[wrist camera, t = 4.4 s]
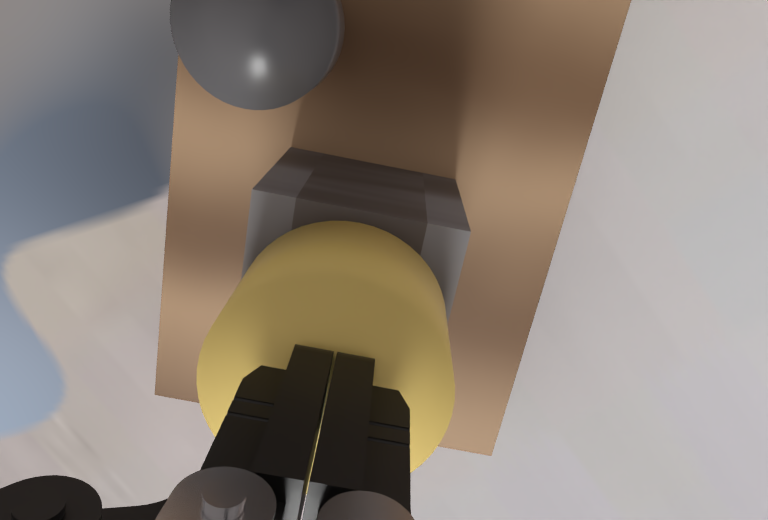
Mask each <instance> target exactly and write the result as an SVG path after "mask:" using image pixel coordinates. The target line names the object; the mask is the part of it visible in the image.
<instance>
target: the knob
mask: <svg viewBox="0 0 768 520" xmlns="http://www.w3.org/2000/svg"><path fill="white" fill-rule="evenodd" d="M295 344H298V345H304V346H309V347H314V348H320V349H325V350H331V351H334V353H333V359H332V364H331V370H330V375H329V380H328V386H327V391H326V397H325V402H324V408H323V413H322V419H321V424H322V420H323V415H324V410H325V406H326V401H327V396H328V392H329V387H330V382H331V378H332V373H333V368H334V364H335V359H336V354H337V352H342V353H347V354H353V355H358V356H364V357H369V358H374V359H375V367H374V377H373V386H378V387H383V388H389V389H394V390H399V392H400V393H401V395H402V397H403V398H404V400H405V401H406V403H407V405H408V406H409V408H410V473H411V472H412V471H414V470H415V469H416V468H418V467H419V466H420V465H421V464H422V463H423V462H424V461H425V460H426V459H427V458H428V457H429V456H430V455H431V454H432V453H433V451H434V450H435V449H436V447H437V446H438V445H439V443H440V442H441V440H442V438H443V436H444V434H445V432H446V430H447V428H448V425H449V422H450V420H451V417H452V412H453V407H454V402H455V382H454V373H453V365H452V357H451V349H450V341H449V333H448V326H447V318H446V310H445V302H444V299H443V295H442V291H441V289H440V286H439V284H438V281H437V279H436V277H435V276H434V274H433V272H432V271H431V269H430V267H429V266H428V265H427V263H426V262H425V261H424V260H423V259H422V257H421V256H420V255H419V254H418V253H417V252H416V251H415V250H414V249H413V248H411V247H410V246H409V245H408V244H406V243H405V242H403V241H402V240H401V239H399V238H397V237H396V236H394V235H392V234H390V233H388V232H386V231H384V230H381V229H379V228H376V227H374V226H370V225H366V224H363V223H358V222H350V221H325V222H317V223H313V224H309V225H305V226H301V227H299V228H297V229H294V230H292V231H289V232H287V233H286V234H284V235H282V236H280V237H279V238H277V239H276V240H274V241H273V242H272V243H271V244H269V245H268V246H267V247H266V248H265V249H264V250H263V251H262V252H261V253H260V254H259V255H258V256H257V257H256V259H255V260H254V262H253V263H252V264H251V266H250V267H249V269H248V270H247V272H246V273H245V275H244V277H243V278H242V280H241V281H240V283H239V284H238V286H237V287H236V289H235V291H234V292H233V294H232V295H231V297H230V298H229V300H228V302H227V303H226V305H225V306H224V308H223V309H222V311H221V312H220V314H219V316H218V317H217V319H216V320H215V322H214V323H213V325H212V326H211V328H210V330H209V332H208V334H207V336H206V338H205V340H204V342H203V345H202V348H201V351H200V354H199V359H198V365H197V391H198V398H199V402H200V406H201V409H202V413H203V415H204V417H205V419H206V422H207V424H208V426H209V428H210V429H211V431H212V433H213V434H214V436H215V437H216V435H217V433H218V431H219V428H220V426H221V424H222V422H223V420H224V418H225V416H226V415H227V411H228V409H229V407H230V405H231V403H232V400H234V396H235V394H236V392H237V390H238V387H239V385H240V383H241V381H242V379H243V378H244V377H245V376H247V375H248V374H250V373H251V372H252V371H254V370H255V369H257V368H258V367H259V366H261V365H263V366H268V367H274V368H279V369H285V370H286V369H287V366H288V363H289V360H290V357H291V354H292V351H293V349H294V346H295ZM321 424H320V429H321ZM319 433H320V430H319ZM318 438H319V435H318ZM317 443H318V440H317ZM316 447H317V445H316ZM315 452H316V450H315ZM314 457H315V455H314ZM313 461H314V459H313ZM312 466H313V464H312ZM311 471H312V468H311ZM310 475H311V473H310ZM309 480H310V478H309ZM308 485H309V482H308ZM307 491H308V487H307ZM306 494H307V492H306Z"/></svg>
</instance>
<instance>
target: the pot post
mask: <svg viewBox="0 0 768 520" xmlns="http://www.w3.org/2000/svg"><path fill="white" fill-rule="evenodd" d="M170 24H171V32H172V36H173V40H174V44H175V47H176V49H177V52H178V55H179V56H180V58H181V60H182V62H183V64H184V66H185V67H186V69H187V70H188V72H189V73H190V75H191V76H192V77H193V78H194V79H195V81H196V82H197V83H198V84H199V85H200V86H201V87H202V88H204V89H205V90H206V91H207V92H209V93H210V94H211V95H213V96H214V97H216V98H217V99H219V100H221V101H223V102H225V103H227V104H230V105H232V106H235V107H239V108H243V109H249V110H269V109H275V108H279V107H282V106H286V105H288V104H290V103H292V102H294V101H296V100H298V99H299V98H301V97H302V96H304V95H305V94H307V93H308V92H309V91H311V90H312V89H314V88H315V87H316V86H317V85H319V84H320V83H321V82H322V81H323V80H324V79H325V78H326V77H327V76H328V74H329V73H330V72H331V70H332V69H333V67H334V65H335V63H336V62H337V60H338V57H339V55H340V52H341V49H342V45H343V40H344V31H345V23H344V13H343V7H342V4H341V0H171V5H170Z"/></svg>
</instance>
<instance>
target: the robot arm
mask: <svg viewBox="0 0 768 520" xmlns="http://www.w3.org/2000/svg"><path fill="white" fill-rule="evenodd" d="M333 353H334V351H331V350H325V349H320V348H314V347H309V346H304V345H298V344H295V346H294V349H293V351H292V354H291V357H290V360H289V363H288V366H287V369H286V370H285V369H279V368H274V367H268V366H263V365H261V366H259V367H258V368H257V369H255V370H254V371H252V372H251V373H250V374H248V375H247V376H245V377H244V378H243V379H242V381H241V383H240V385H239V387H238V390H237V392H236V394H235V396H234V400H232V403H231V405H230V407H229V409H228V411H227V415H226V416H225V418H224V420H223V422H222V424H221V426H220V428H219V431H218V433H217V435H216V437H215V439H214V441H213V444H212V446H211V448H210V450H209V452H208V454H207V457H206V459H205V461H204V463H203V465H202V467H201V470H200V471H197V472H195V473H193V474H191V475H189V476H188V477H186V478H184V479H183V480H182V481H181V482H180V483H179V484H178V485H177V486H176V487H175V488H174V490H173V491H172V493H171V494H170V496H169V498H168V499H166V500H163V501H160V502H157V503H152V504H148V505H141V506H130V507H117V508H104V509H102V502H101V499H100V496H99V495H98V493H97V492H96V490H95V489H94V488H92V487H91V486H90V485H89V484H87V483H85V482H84V481H81V480H79V479H76V478H72V477H67V476H58V475H52V476H40V477H33V478H29V479H25V480H22V481H19V482H16V483H13V484H11V485H8V486H6V487H3V488H1V489H0V520H300V519H301V515H302V510H303V505H304V501H305V496H306V492H307V496H306V502H305V507H304V513H303V518H302V520H414V519H413V517H412V516H411V510H410V408H409V406H408V405H407V403H406V401H405V400H404V398H403V397H402V395H401V393H400V392H399V390H394V389H389V388H383V387H378V386H373V377H374V367H375V359H374V358H369V357H364V356H358V355H353V354H347V353H342V352H337V354H336V359H335V364H334V368H333V373H332V378H331V382H330V387H329V392H328V396H327V401H326V406H325V410H324V415H323V420H322V424H321V419H322V413H323V408H324V402H325V397H326V391H327V386H328V380H329V375H330V370H331V364H332V359H333ZM320 424H321V429H320ZM319 430H320V433H319ZM318 435H319V438H318ZM317 440H318V443H317ZM316 445H317V447H316ZM315 450H316V452H315ZM314 455H315V457H314ZM313 459H314V461H313ZM312 464H313V466H312ZM311 468H312V471H311ZM310 473H311V475H310ZM309 478H310V480H309ZM308 482H309V485H308ZM307 487H308V491H307Z"/></svg>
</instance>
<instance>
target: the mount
mask: <svg viewBox="0 0 768 520" xmlns="http://www.w3.org/2000/svg"><path fill="white" fill-rule="evenodd" d="M630 2H631V0H341V4H342V7H343V13H344V23H345V31H344V40H343V45H342V49H341V52H340V55H339V57H338V60H337V62H336V63H335V65H334V67H333V69H332V70H331V72H330V73H329V74H328V76H327V77H326V78H325V79H324V80H323V81H322V82H321V83H320V84H319V85H317V86H316V87H315V88H314V89H312V90H311V91H309V92H308V93H307V94H305V95H304V96H302V97H301V98H299V99H298V100H296V101H294V102H292V103H290V104H288V105H286V106H282V107H279V108H275V109H269V110H249V109H243V108H239V107H235V106H232V105H230V104H227V103H225V102H223V101H221V100H219V99H217V98H216V97H214V96H213V95H211V94H210V93H209V92H207V91H206V90H205V89H204V88H202V87H201V86H200V85H199V84H198V83H197V82H196V81H195V79H194V78H193V77H192V76H191V75H190V73H189V72H188V70H187V69H186V67H185V66H184V64H183V62H182V60H181V58H180V56H179V55H178V68H177V82H176V96H175V111H174V125H173V139H172V155H171V168H170V182H169V197H168V211H167V225H166V240H165V254H164V269H163V283H162V297H161V312H160V326H159V340H158V355H157V369H156V384H155V395H159V396H164V397H170V398H175V399H181V400H186V401H192V402H197V403H200V402H199V398H198V391H197V365H198V359H199V354H200V351H201V348H202V345H203V342H204V340H205V338H206V336H207V334H208V332H209V330H210V328H211V326H212V325H213V323H214V322H215V320H216V319H217V317H218V316H219V314H220V312H221V311H222V309H223V308H224V306H225V305H226V303H227V302H228V300H229V298H230V297H231V295H232V294H233V292H234V291H235V289H236V287H237V286H238V284H239V283H240V281H241V280H242V278H243V277H244V275H245V273H246V272H247V270H248V269H249V267H250V266H251V264H252V263H253V262H254V260H255V259H256V257H257V256H258V255H259V254H260V253H261V252H262V251H263V250H264V249H265V248H266V247H267V246H268V245H269V244H271V243H272V242H273V241H274V240H276V239H277V238H279V237H280V236H282V235H284V234H286V233H287V232H289V231H292V230H294V229H297V228H299V227H301V226H305V225H309V224H313V223H317V222H325V221H350V222H358V223H363V224H366V225H370V226H374V227H376V228H379V229H381V230H384V231H386V232H388V233H390V234H392V235H394V236H396V237H397V238H399V239H401V240H402V241H403V242H405V243H406V244H408V245H409V246H410V247H411V248H413V249H414V250H415V251H416V252H417V253H418V254H419V255H420V256H421V257H422V259H423V260H424V261H425V262H426V263H427V265H428V266H429V267H430V269H431V271H432V272H433V274H434V276H435V277H436V279H437V281H438V284H439V286H440V289H441V291H442V295H443V299H444V302H445V310H446V318H447V326H448V333H449V341H450V349H451V357H452V365H453V373H454V382H455V402H454V407H453V412H452V417H451V420H450V422H449V425H448V428H447V430H446V432H445V434H444V436H443V438H442V440H441V442H440V443H439V445H438V446H440V447H445V448H451V449H456V450H462V451H467V452H473V453H478V454H484V455H489V456H491V455H492V452H493V449H494V445H495V442H496V439H497V436H498V432H499V429H500V426H501V423H502V419H503V416H504V413H505V410H506V406H507V403H508V400H509V396H510V393H511V390H512V387H513V383H514V380H515V377H516V374H517V370H518V367H519V364H520V361H521V357H522V354H523V351H524V348H525V344H526V341H527V338H528V335H529V331H530V328H531V325H532V322H533V318H534V315H535V312H536V309H537V305H538V302H539V299H540V296H541V292H542V289H543V286H544V283H545V279H546V276H547V273H548V269H549V266H550V263H551V260H552V256H553V253H554V250H555V247H556V243H557V240H558V237H559V234H560V230H561V227H562V224H563V221H564V217H565V214H566V211H567V208H568V204H569V201H570V198H571V195H572V191H573V188H574V185H575V182H576V178H577V175H578V172H579V169H580V165H581V162H582V159H583V155H584V152H585V149H586V146H587V142H588V139H589V136H590V133H591V129H592V126H593V123H594V120H595V116H596V113H597V110H598V107H599V103H600V100H601V97H602V94H603V90H604V87H605V84H606V81H607V77H608V74H609V71H610V68H611V64H612V61H613V58H614V55H615V51H616V48H617V45H618V42H619V38H620V35H621V32H622V28H623V25H624V22H625V19H626V15H627V12H628V9H629V6H630Z"/></svg>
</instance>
